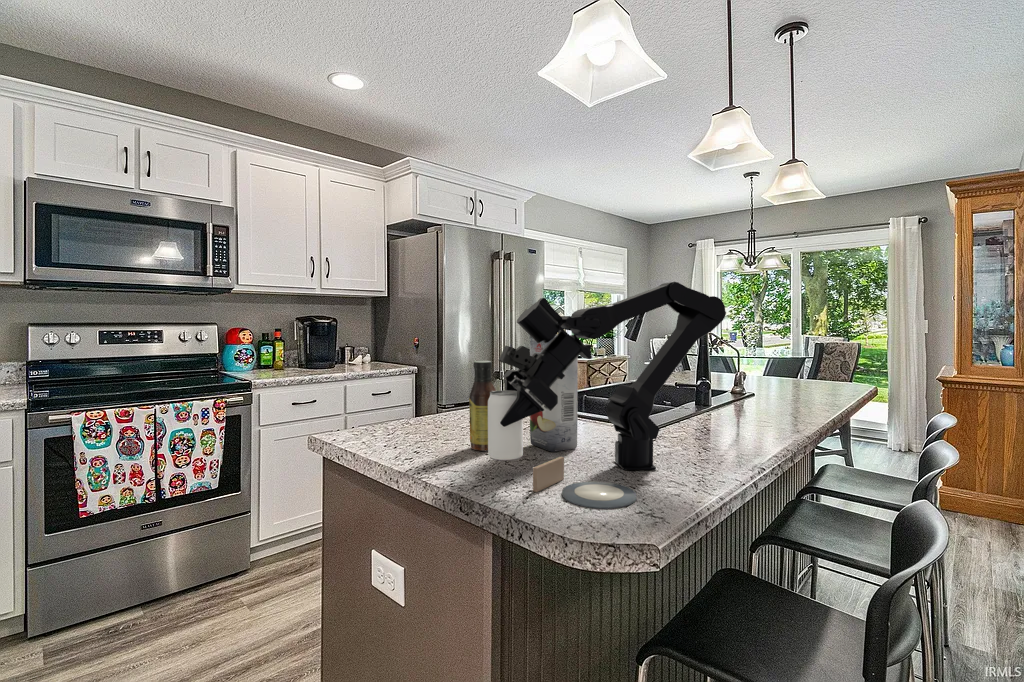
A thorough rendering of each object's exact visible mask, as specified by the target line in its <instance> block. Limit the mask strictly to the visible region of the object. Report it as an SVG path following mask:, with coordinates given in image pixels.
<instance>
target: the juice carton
mask: <svg viewBox="0 0 1024 682" xmlns="http://www.w3.org/2000/svg"><path fill="white" fill-rule="evenodd" d="M557 335H558V334H556V336H557ZM569 335H570V336H571V335H572V334H569ZM528 336H529V349H530V356H532V355H533V354H534V353H539V354H540V353H541V352H542V351H543V350H544V349H545V347H546V346H547V345H548V344H549V343H550V342H551V341H552V340H553V339H554V338H555V337H556V336H555V337H554V338H553V339H552V340H550V341H549V342H547V343H544V342H543V341H542V342H540V343H537V342H536V341H535V340H534V339H533V338H532V337H531V336H530V335H528ZM576 337H577V336H576ZM577 338H578V339H579V340H580V338H579V337H577ZM578 357H579V356H578ZM578 357H577V358H576V359H575V360H574V362H573V363H572V364H571V365H570V366H569V367H568V368H567V369H566V370H565V372H564V373H563V374H564V375H565V376H564V377H563V379H562V380H561V379H557V380H556V381H555V382H554V384H553V385H552V386H551V387H550V389H551V390H552V391H553V392H554V393H555V394H556V395H557V396H558V404H557V405H556V406H555V407H554V408H553V409H552V410H551V411H550V410H548V409H546V408H545V407H544V404H543V406H542V408H543V409H544V411H541V412H538V413H536V414H533V415H531V416H529V436H530V438H529V439H530V444H531V445H532V446H535V447H537V448H540V449H543V450H546V451H548V452H550V453H554V452H559V451H567V450H573V449H574V450H575V449H576V448H577V447H578V392H579V391H578V390H579V389H578V385H579V383H578V382H579V381H578V380H579V379H578V378H579V377H578V376H579V375H578V368H579V367H578V364H579V363H578Z"/></svg>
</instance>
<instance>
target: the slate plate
mask: <svg viewBox="0 0 1024 682" xmlns="http://www.w3.org/2000/svg"><path fill="white" fill-rule="evenodd" d="M561 491H562V492H561V495H562V498H563V499H564V500H566V501H567V502H569V503H571V504H573V505H577V506H580V507H583V508H584V507H586V508H590V509H591V508H592V509H618V508H625V507H627V506H631V505H633V504H634V503H635V502H636V501H637V493H636V491H635V490H634V489H632V488H631V487H628V486H625V485H622V484H619V483H613V482H608V481H592V480H591V481H580V482H575V483H571V484H568V485H566V486H564V487H563V489H562V490H561Z"/></svg>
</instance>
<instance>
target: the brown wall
mask: <svg viewBox="0 0 1024 682" xmlns="http://www.w3.org/2000/svg"><path fill="white" fill-rule="evenodd" d="M563 480H565V457H564V456H558V457H556V458H553V459H552V460H551V459H550V460H549V461H546V462H544V463H541V464H539V465H536V466H534V467H532V492H535V493H538V492H541V491H542V490H545V489H547V488H549V487H551V486H552V485H555V484H556V483H560V482H561V481H563Z"/></svg>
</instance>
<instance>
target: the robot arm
mask: <svg viewBox="0 0 1024 682" xmlns="http://www.w3.org/2000/svg"><path fill="white" fill-rule="evenodd" d="M663 306H668V307H669V308H670V309H671V310H672V311H674V312H676V313H677V314H678V315H677V320H676V326H675V328H674V330H673V332H672V333H671V334H670V335H669V337H668V338H667V339H666V341H665V342H664V344H663V345H662V346H661V347H660V349H659V350H658V351H657V353H656V354H655V355H654V357H652V359H651V360H650V362H649V363H648V364H647V366H646V367H645V368H644V370H642V372H641V374H640V375H639V376H638V378H637V379H636V380H635V381H634V382H633V383H631V384H630V385H626V384H619V385H618V386H617V387H616V389H615V392H614V393H613V394H612V395H611V396H609V397H608V398H607V400H608V401H609V402H608V404H607V405H606V408H605V410H606V417H607V419H608V421H609V422H610V423H611V424H612V425H613V428H614V430H615V432H618V433H617V440H616V441H615V443H614V462H615V464H617V465H618V466H619V468H620V469H621V470H623V471H640V470H641V471H643V470H644V471H646V470H647V471H648V470H651V471H653V470H655V471H656V469H657V466H656V465H655V464H654V440H657V438H658V435H659V432H660V427H659V426H658V425H657V424H656V423H655V422H654V421H653V420H652V419H651V418H650V415H651V414H652V412H653V411H654V410H653V409H654V403H655V398H656V396H657V394H658V393H659V391H660V390H661V389H662V387H663V386H664V385H665V384H666V382H667V380H668V379H669V378H670V377H671V375H672V374H673V373H674V371H675V370H676V369H677V367H678V366H679V365H680V364H681V362H682V361H683V359H684V358H685V357H686V356H687V354H688V352H690V350H691V349H692V347H693V346H694V345H695V344H696V342H697V341H698V340H700V339H701V338H702V337H703V338H704V336H707V335H708V334H709V333H711V332H712V331H714V330H715V328H717V327H718V326H719V325H720V324H721V323H722V322H723V321H724V319H725V317H726V316H727V311H726V307H725V304H724V302H723V300H722V299H720V297H718V296H713V295H712V296H710V295H708V294H705V293H704V292H701V291H698V290H695V289H693V288H690V287H687V286H686V285H683V284H682V283H680V282H678V281H672V282H663V283H661V284H660V285H658V286H656V287H653V288H650V289H648V290H645V291H642V292H640V293H636V294H634V295H632V296H629V297H627V298H624V299H620V300H618V301H615V302H614V303H609V304H604V305H597V306H592V307H585V308H580V309H577V310H575V311H573V313H571V315H560V314H559V313H558V312H557V311H556V310H555V309H554V308H553V306H552V305H551V304H550V302H549V301H548V300H547V299H546V298H545V297H541V298H539V299H538V300H537V301H536V302H534V303H533V304H531V305H530V306H529V307H528V308H526V309H525V310H523V311H522V313H521V314H520V315H519V316H518V318H517V320H516V323H517V324H518V325H519V326H520V327H521V328H522V329H523V330H524V331H525V333H527V335H528V336H531V337H532V338H533V339H534V340H535V341H536V342H537V343H540V342H542V341H543V342H544V343H547V342H549V341H550V340H552V339H553V338H554V337H555V336H556V335H557V336H556V337H555V338H554V339H553V340H552V341H551V342H550V343H549V344H548V345H547V346H546V347H545V349H544V350H543V351H542V352H541V353H540V354H539V353H534V354H533V355H532V356H530V347H529V348H528V347H526V346H524V345H519V346H518V347H517V348H515V347H511V346H509V345H504V347H503V348H502V351H501V353H500V356H499V359H497V361H498V362H500V363H502V364H506V365H508V366H511V367H514V368H516V369H508V370H507V371H506V372H505V373H504V374H503V375H502V377H503V379H504V380H503V383H504V390H510V391H517V398H516V400H515V401H514V402H513V404H512V405H511V407H510V408H509V410H508V411H507V413H506V414H505V415H504V417H503V419H502V420H501V422H500V424H501V425H502V426H503V427H505V426H508V425H510V424H512V423H514V422H517V421H519V420H521V419H523V420H524V419H525V418H528V417H530V416H531V415H533V414H536V413H538V412H541V411H544V409H543V408H542V406H543V404H544V407H545V408H546V409H548V410H550V411H551V410H552V409H553V408H554V407H555V406H556V405H557V404H558V396H557V395H556V394H555V393H554V392H553V391H552V390H551V389H550V387H551V386H552V385H553V384H554V382H555V381H556V380H557V379H561V380H562V379H563V377H564V376H565V375H564V374H563V373H564V372H565V370H566V369H567V368H568V367H569V366H570V365H571V364H572V363H573V362H574V360H575V359H576V358H577V357H581V358H582V359H587V360H592V358H593V356H592V355H593V353H592V345H591V344H584V342H582V340H581V339H588V340H589V339H591V340H596V339H600V338H601V337H603V336H604V335H607V334H608V333H609V332H611V331H613V330H614V329H615V328H617V327H618V326H619V324H622V323H623V322H626V321H627V320H630V319H632V318H636V317H638V316H641V315H643V314H646V313H649V312H651V311H653V310H656V309H658V308H661V307H663ZM567 331H570V332H571V333H572V334H569V333H568V332H567ZM570 335H571V336H570ZM576 336H577V337H579V339H578V338H577V337H576Z"/></svg>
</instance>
